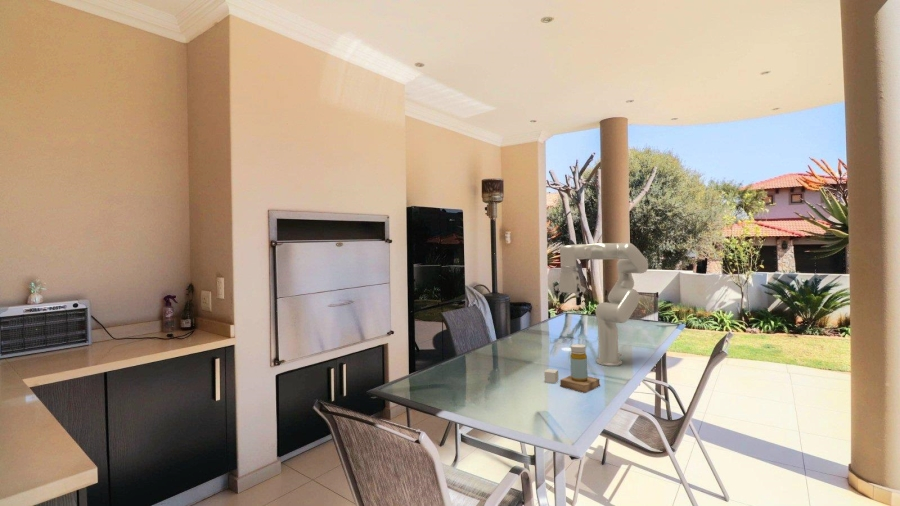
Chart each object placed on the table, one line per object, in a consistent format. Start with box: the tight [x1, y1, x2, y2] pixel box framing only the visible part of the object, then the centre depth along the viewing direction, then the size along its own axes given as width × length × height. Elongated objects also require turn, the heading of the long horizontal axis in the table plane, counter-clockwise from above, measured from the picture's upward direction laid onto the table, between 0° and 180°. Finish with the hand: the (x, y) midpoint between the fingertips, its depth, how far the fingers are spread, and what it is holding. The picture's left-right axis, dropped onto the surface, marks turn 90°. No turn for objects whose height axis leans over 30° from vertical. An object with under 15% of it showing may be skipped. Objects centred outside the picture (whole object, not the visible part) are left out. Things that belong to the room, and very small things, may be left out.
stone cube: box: [543, 368, 559, 384], centre depth 191 cm, size 5×5×5 cm
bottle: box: [569, 343, 589, 381], centre depth 183 cm, size 7×7×15 cm
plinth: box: [559, 375, 601, 394], centre depth 183 cm, size 12×12×3 cm
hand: (570, 304), depth 205 cm, fingers open, 9 cm apart
